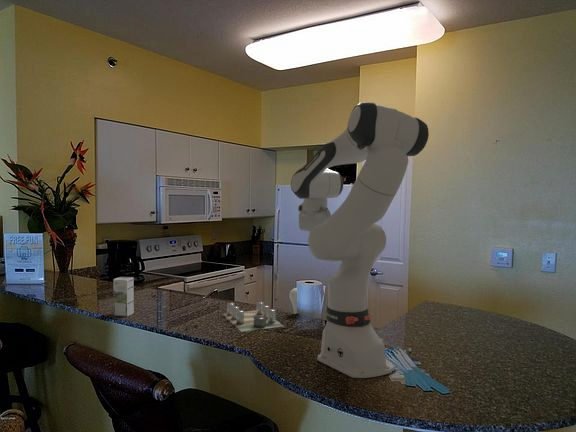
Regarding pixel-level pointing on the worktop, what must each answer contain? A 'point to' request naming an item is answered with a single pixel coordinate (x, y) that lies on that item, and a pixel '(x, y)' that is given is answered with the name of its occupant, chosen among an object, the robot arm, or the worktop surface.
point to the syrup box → (123, 296)
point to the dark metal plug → (259, 322)
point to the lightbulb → (294, 299)
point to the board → (251, 322)
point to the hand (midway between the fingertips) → (314, 244)
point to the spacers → (261, 310)
